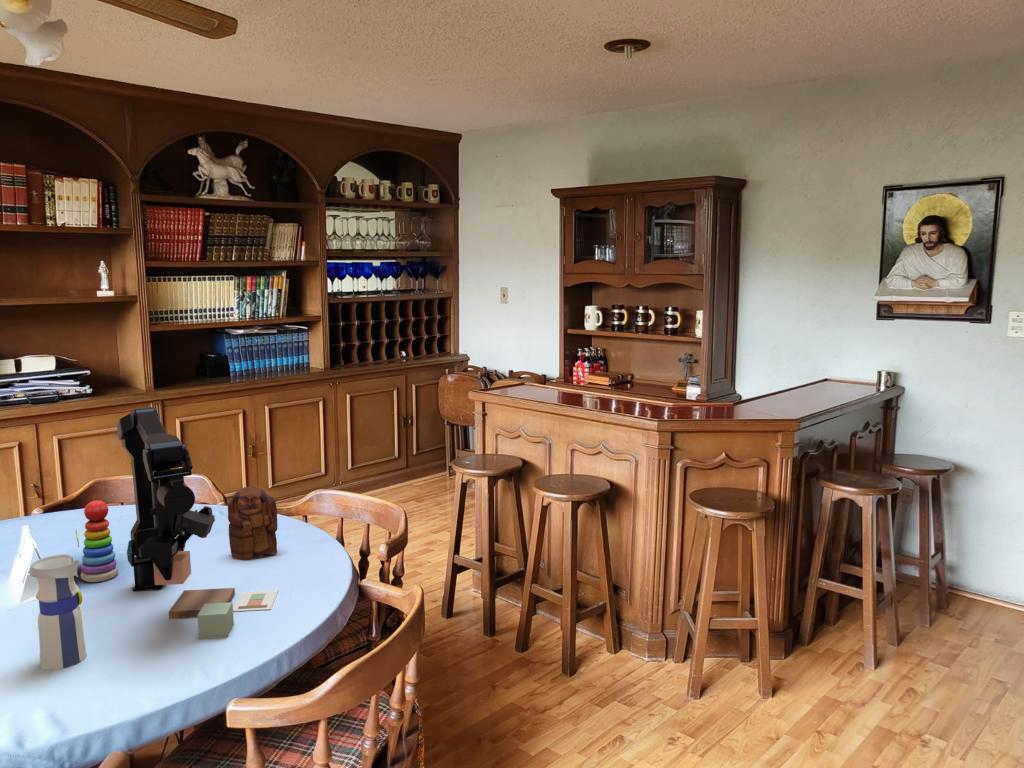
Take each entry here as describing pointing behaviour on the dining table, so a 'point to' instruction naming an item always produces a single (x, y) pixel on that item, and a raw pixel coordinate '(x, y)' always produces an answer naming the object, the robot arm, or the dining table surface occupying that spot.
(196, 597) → the walnut plate
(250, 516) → the wooden figurine
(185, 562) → the terracotta block
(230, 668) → the dining table surface
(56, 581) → the beige and blue vase
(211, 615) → the sage block
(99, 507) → the stacking toy
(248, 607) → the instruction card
